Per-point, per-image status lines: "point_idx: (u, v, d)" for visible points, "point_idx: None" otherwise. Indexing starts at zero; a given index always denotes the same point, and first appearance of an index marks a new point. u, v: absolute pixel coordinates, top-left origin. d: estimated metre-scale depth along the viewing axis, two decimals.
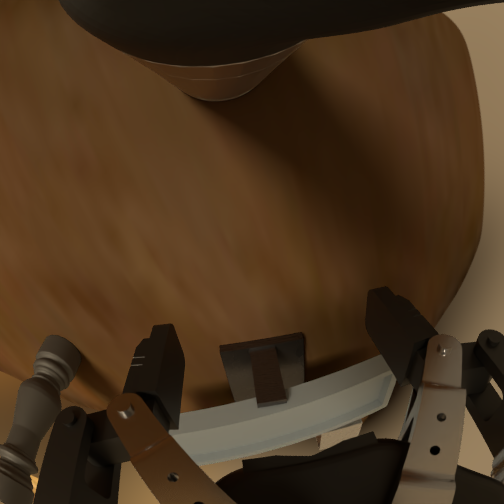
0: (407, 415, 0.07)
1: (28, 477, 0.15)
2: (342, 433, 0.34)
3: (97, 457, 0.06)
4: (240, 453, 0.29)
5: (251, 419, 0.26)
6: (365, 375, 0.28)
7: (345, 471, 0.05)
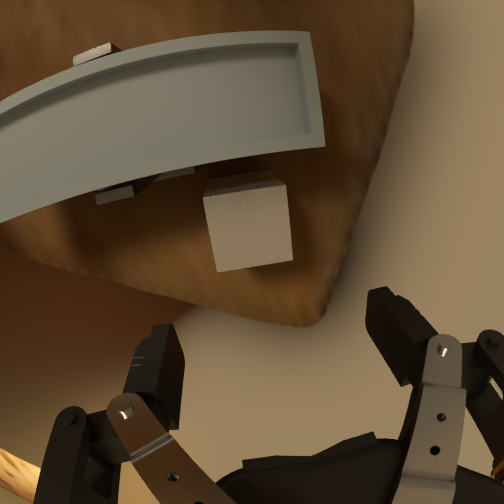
0: (407, 415, 0.07)
1: None
2: (250, 216, 0.21)
3: (97, 457, 0.06)
4: (47, 190, 0.16)
5: (58, 74, 0.14)
6: None
7: (345, 471, 0.05)
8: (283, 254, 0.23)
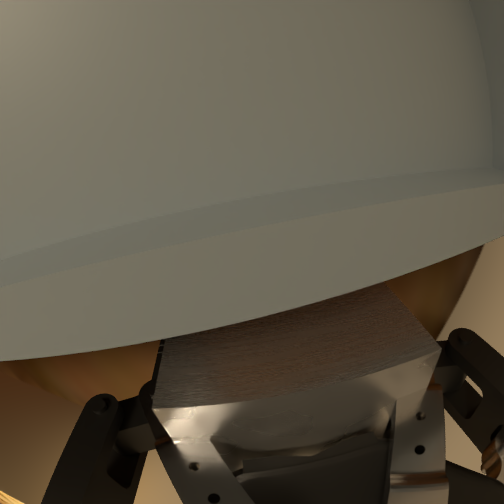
0: None
1: None
2: (314, 436, 0.06)
3: (123, 446, 0.07)
4: None
5: None
6: None
7: (345, 471, 0.05)
8: None
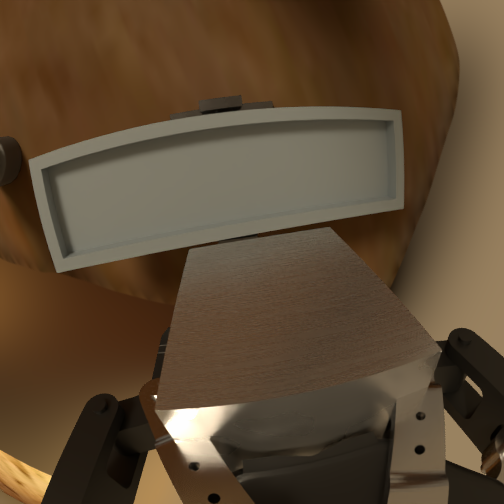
0: None
1: None
2: (315, 437, 0.06)
3: (123, 446, 0.07)
4: (171, 235, 0.21)
5: (187, 118, 0.18)
6: None
7: (345, 471, 0.05)
8: None
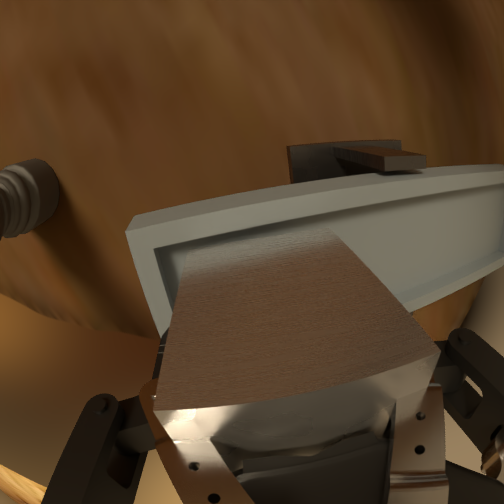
0: None
1: None
2: (314, 437, 0.06)
3: (123, 446, 0.07)
4: None
5: (381, 184, 0.14)
6: (494, 169, 0.16)
7: (345, 471, 0.05)
8: None
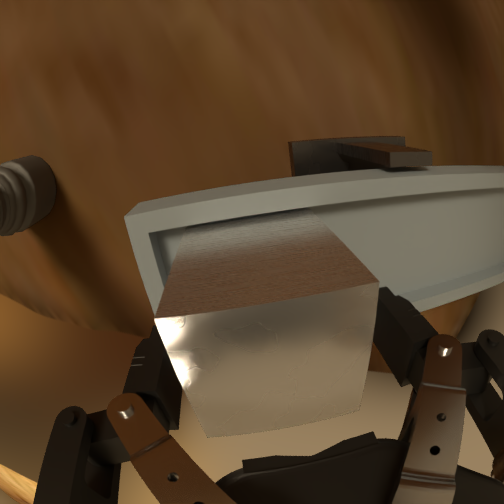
0: (407, 415, 0.07)
1: None
2: (281, 356, 0.08)
3: (97, 457, 0.06)
4: None
5: (376, 180, 0.13)
6: None
7: (345, 471, 0.05)
8: (342, 407, 0.10)
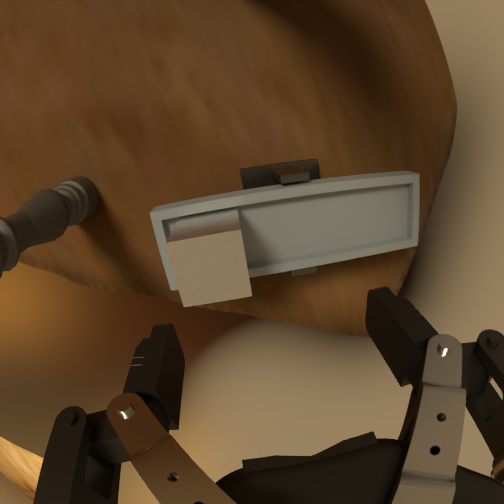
0: (407, 415, 0.07)
1: (4, 250, 0.17)
2: (209, 258, 0.23)
3: (97, 457, 0.06)
4: (257, 267, 0.32)
5: (270, 191, 0.29)
6: (384, 175, 0.30)
7: (345, 471, 0.05)
8: (242, 291, 0.25)
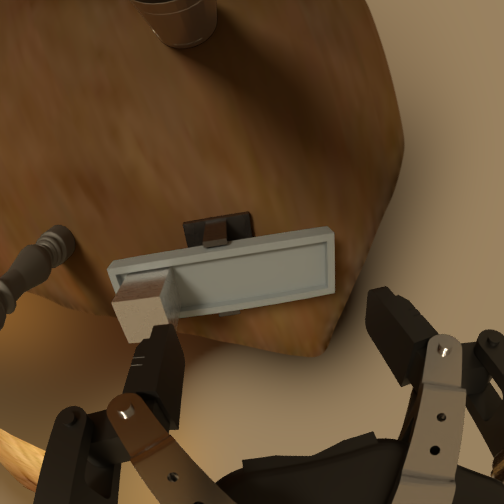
0: (407, 415, 0.07)
1: (5, 304, 0.25)
2: (141, 314, 0.31)
3: (97, 457, 0.06)
4: (190, 309, 0.39)
5: (194, 255, 0.36)
6: (297, 236, 0.37)
7: (345, 471, 0.05)
8: None
